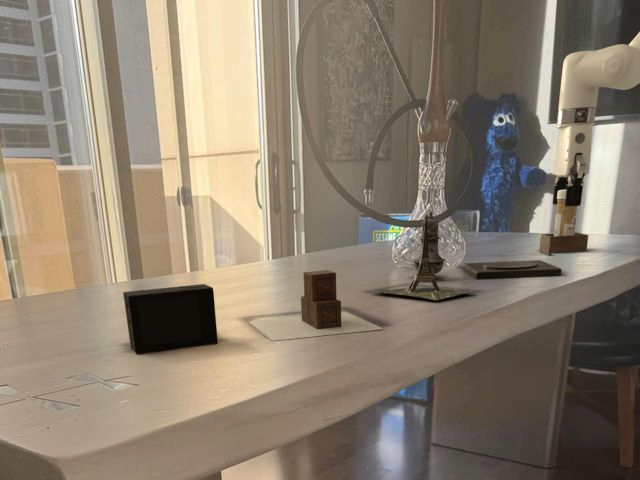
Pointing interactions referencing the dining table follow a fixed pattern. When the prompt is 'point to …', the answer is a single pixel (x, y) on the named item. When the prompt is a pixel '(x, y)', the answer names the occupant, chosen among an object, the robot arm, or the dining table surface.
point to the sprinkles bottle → (564, 217)
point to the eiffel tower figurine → (424, 278)
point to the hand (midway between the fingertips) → (566, 205)
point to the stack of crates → (315, 313)
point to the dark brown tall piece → (431, 248)
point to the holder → (563, 243)
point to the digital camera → (171, 318)
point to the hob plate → (511, 269)
